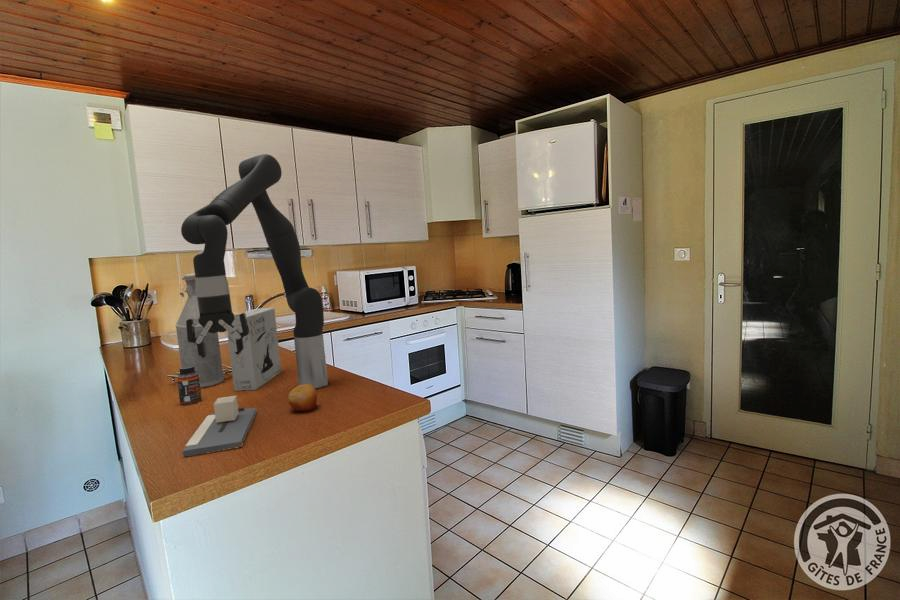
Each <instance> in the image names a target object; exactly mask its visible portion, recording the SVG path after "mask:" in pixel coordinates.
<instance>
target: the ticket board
mask: <svg viewBox="0 0 900 600" xmlns="http://www.w3.org/2000/svg"><path fill="white" fill-rule="evenodd" d="M257 412H258V411H257V407H252V408H251V407H250V408H245V407H243V406H242V407H238V413H239V414H238V415H237V417H236V419H235V420H231V421H225V422H218V423H216V419H215V412H214V413H209V414H208V415H207V416H206V417H205V419H204V420H203V421H202V423H201V424H200V425H199V426H198V428H196V431H195V432H194V433H193V434H192V436H191V437H190V439H189V440H188V441H187V442H186V444H185V445H184V446H185V447H184V448H183V450H182V457H183V458H186V457H185V456H188V457H192V456H191V455H194V456H197V455H196V454H201V455H203V454H202V453H207V452H213V451H218V450H223V449H228V448H235V447H240V446H241V445H242V443H243V441H244V439H245V440H246V438H247V436H246V434H247V432H248V433H249V431H250V429H251V427H252V425H251V424H253V422H254V420H255V418H254V417H256V416H255V415H257ZM253 419H254V420H253ZM252 421H253V422H252ZM250 426H251V427H250ZM249 428H250V429H249ZM248 430H249V431H248ZM247 435H248V434H247ZM245 437H246V438H245ZM244 442H245V441H244ZM243 444H244V443H243ZM242 446H243V445H242ZM213 453H214V452H213ZM207 454H208V453H207Z"/></svg>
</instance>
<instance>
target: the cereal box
mask: <svg viewBox="0 0 900 600" xmlns="http://www.w3.org/2000/svg"><path fill="white" fill-rule="evenodd" d="M275 310H276V309H275V307H261V308H254V309H250V310H249V309H248V310H247V311H243V312H239V314H241V313H245V314H246V318H247V323H248V328H249V334H248V335H247V336H244V337H243V346H244V348H243V350H241V353H237V346H236V339H237V338H236V337H235V336H233V335H232V334H231V333H229V332H228V331H226V333H227V341H228V342H227V343H228V350H229V358H230V366H231V375H232V383H233V391H235V392H243V391H242V390H246V391H257V390H258V389H260V388H261V387H262V386H264V385H265V384H267V383H268V382H269V381H271V380H272V379H273V378H275V377H276V376H278V375H279V374H281V372H282V367H281V366H282V365H281V358H280V348H279V347H280V346H279V338H278V330H277V321H276V311H275ZM237 314H238V313H237ZM237 314H235V315H237ZM232 325H233V326H235V327H236V328H237V330H238V331H239V332H240V333H241V332H243V331H242V326H241V322H238V320H237V319H234V321H233V323H232Z"/></svg>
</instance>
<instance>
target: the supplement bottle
mask: <svg viewBox="0 0 900 600" xmlns="http://www.w3.org/2000/svg"><path fill="white" fill-rule="evenodd" d="M176 381H177V390H178V400H179V403H180V405H192V403H193V404H196V403H198V401H199V402H200V401H201V400H202V391H201V388H200V381H199V374H198V373H197V372H196V371H195V369H194V366H184V367H181V366H180V367H179V374H178V375H177V377H176Z"/></svg>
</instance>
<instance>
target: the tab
mask: <svg viewBox="0 0 900 600" xmlns="http://www.w3.org/2000/svg"><path fill="white" fill-rule="evenodd" d="M238 408H239V405H238V396H237V395H231V396H224V397H217V399H216V400H215V401H214V403H213V410H214V413H215V419H216V423H218V422H225V421H231V420H235V419H236V417H237V415H238V414H239V413H238Z"/></svg>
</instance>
